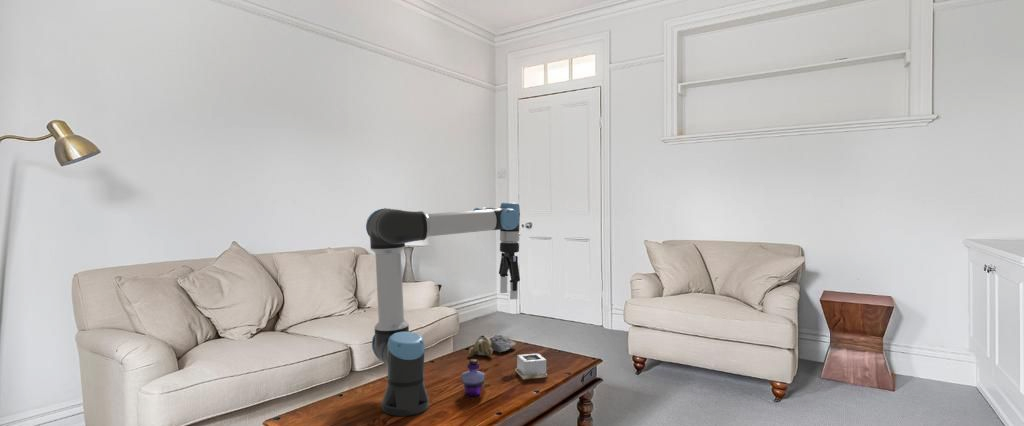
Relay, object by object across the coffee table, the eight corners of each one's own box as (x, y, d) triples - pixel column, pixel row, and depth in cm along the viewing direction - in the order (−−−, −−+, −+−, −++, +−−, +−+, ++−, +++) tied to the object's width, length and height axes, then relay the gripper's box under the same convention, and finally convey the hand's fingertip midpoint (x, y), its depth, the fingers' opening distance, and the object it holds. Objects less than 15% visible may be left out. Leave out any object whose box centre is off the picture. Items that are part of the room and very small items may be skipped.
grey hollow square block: (524, 375, 203) (524, 361, 203) (517, 368, 211) (517, 355, 211) (546, 374, 205) (546, 360, 205) (538, 366, 214) (538, 353, 214)
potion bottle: (489, 396, 184) (489, 362, 184) (465, 400, 180) (466, 365, 180) (479, 388, 192) (479, 355, 191) (457, 391, 188) (457, 358, 187)
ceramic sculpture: (496, 331, 240) (491, 341, 225) (496, 349, 240) (491, 361, 226) (473, 330, 241) (467, 341, 226) (473, 348, 242) (467, 360, 227)
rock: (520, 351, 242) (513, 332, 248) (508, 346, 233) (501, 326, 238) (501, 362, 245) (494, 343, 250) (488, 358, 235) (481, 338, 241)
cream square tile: (523, 379, 202) (523, 363, 202) (515, 371, 211) (515, 356, 211) (547, 377, 205) (547, 361, 205) (538, 369, 214) (539, 354, 214)
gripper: (529, 244, 196) (527, 301, 197) (509, 239, 220) (508, 290, 221) (509, 244, 194) (508, 302, 195) (492, 239, 218) (491, 290, 218)
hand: (508, 296), depth 208 cm, fingers open, 13 cm apart
